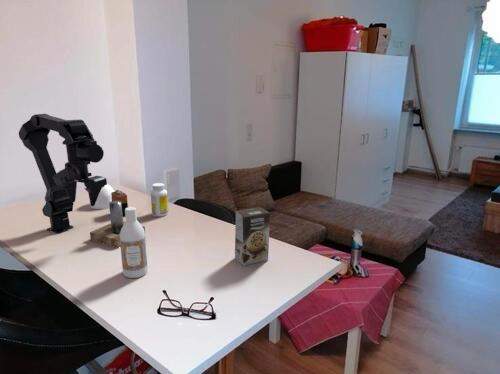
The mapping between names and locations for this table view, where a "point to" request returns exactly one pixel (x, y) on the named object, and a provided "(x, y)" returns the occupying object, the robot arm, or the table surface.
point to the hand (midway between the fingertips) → (82, 204)
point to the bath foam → (133, 246)
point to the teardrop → (104, 198)
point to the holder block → (107, 236)
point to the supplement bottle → (159, 200)
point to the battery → (120, 199)
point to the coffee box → (252, 235)
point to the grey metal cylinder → (116, 216)
